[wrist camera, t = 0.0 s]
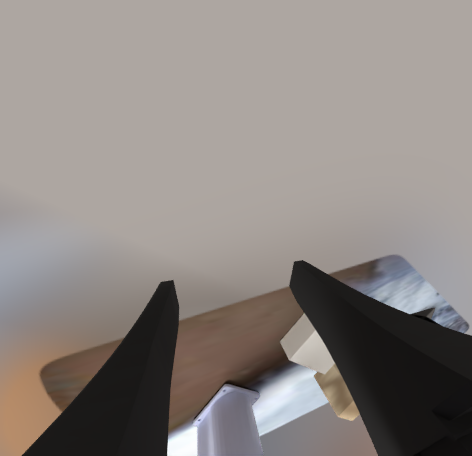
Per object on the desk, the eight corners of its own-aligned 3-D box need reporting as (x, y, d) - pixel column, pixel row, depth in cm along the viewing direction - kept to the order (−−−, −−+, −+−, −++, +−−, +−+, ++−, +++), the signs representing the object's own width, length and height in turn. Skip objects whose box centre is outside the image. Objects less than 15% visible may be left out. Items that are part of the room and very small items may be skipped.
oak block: (327, 381, 34) (352, 420, 29) (313, 375, 33) (337, 416, 27) (341, 365, 34) (370, 402, 28) (328, 359, 32) (356, 397, 27)
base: (313, 356, 31) (324, 374, 28) (279, 341, 28) (289, 360, 25) (345, 320, 30) (361, 335, 27) (315, 300, 27) (329, 315, 24)
